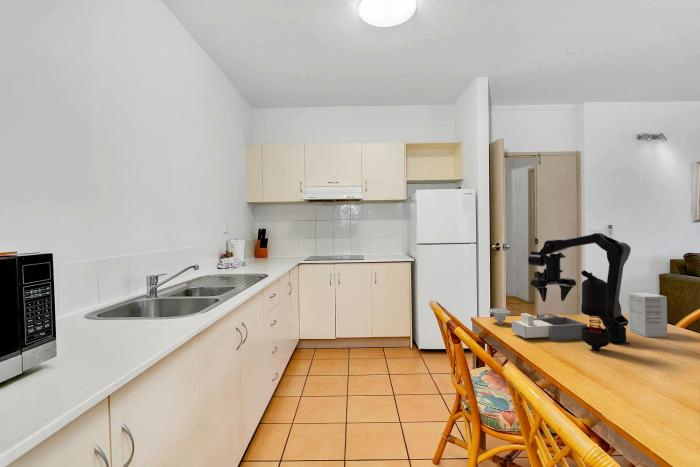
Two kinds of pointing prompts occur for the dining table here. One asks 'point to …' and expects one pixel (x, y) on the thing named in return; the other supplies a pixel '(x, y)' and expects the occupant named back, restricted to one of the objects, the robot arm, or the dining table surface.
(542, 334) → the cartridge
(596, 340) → the black tall rounded body
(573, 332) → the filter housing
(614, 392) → the dining table surface
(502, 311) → the showerhead
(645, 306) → the supplement box
